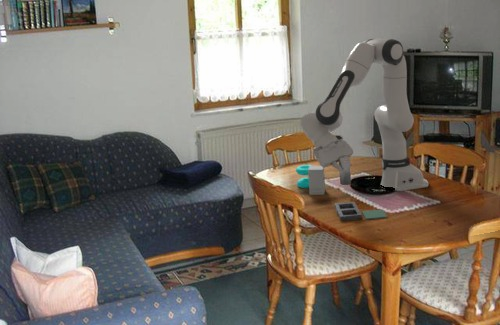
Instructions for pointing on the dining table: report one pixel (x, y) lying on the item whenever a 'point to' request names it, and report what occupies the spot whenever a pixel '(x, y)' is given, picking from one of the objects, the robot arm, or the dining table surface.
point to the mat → (374, 214)
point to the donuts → (303, 171)
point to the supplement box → (316, 180)
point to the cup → (345, 170)
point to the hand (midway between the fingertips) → (345, 168)
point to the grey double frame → (348, 211)
